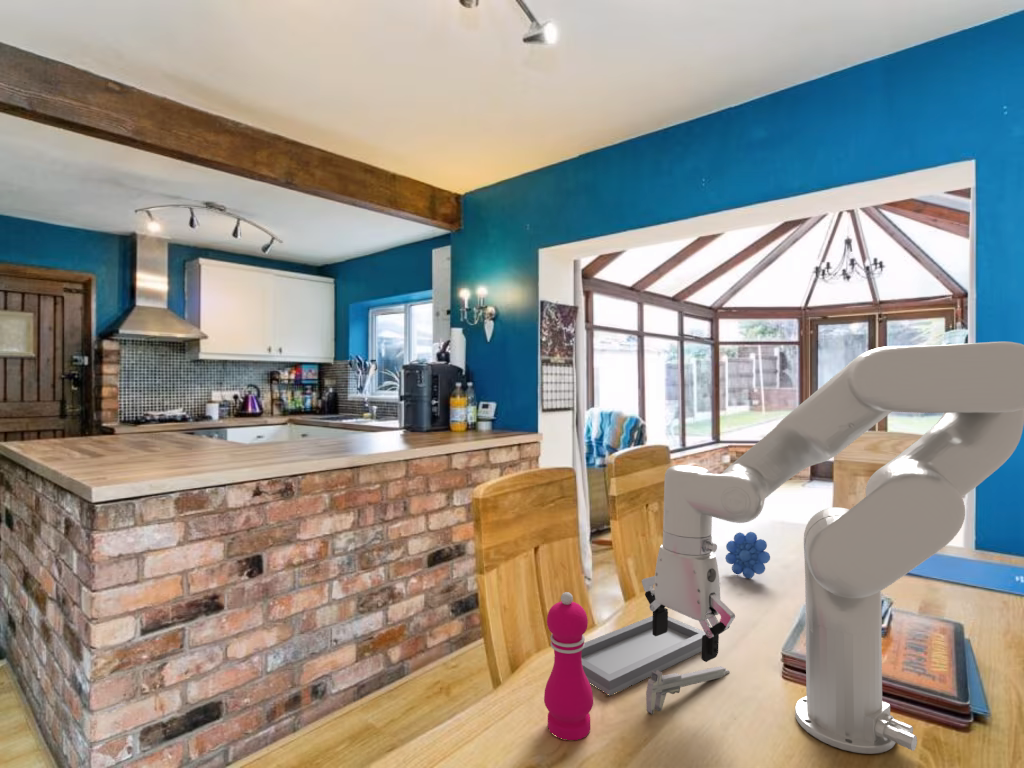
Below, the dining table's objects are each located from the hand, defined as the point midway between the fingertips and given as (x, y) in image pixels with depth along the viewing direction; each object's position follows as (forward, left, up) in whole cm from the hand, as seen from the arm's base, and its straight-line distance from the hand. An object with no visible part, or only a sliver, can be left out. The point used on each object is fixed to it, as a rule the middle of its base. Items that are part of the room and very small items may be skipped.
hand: (683, 645), depth 91 cm
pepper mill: (+4, +21, -8) cm, 23 cm away
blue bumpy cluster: (+22, -56, -8) cm, 60 cm away
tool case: (+12, -3, -7) cm, 14 cm away
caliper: (-1, -1, -8) cm, 8 cm away
